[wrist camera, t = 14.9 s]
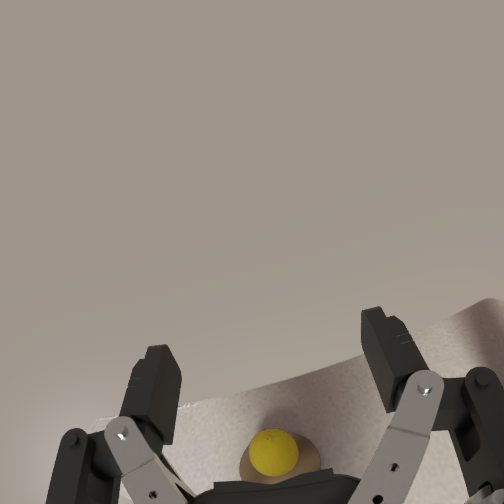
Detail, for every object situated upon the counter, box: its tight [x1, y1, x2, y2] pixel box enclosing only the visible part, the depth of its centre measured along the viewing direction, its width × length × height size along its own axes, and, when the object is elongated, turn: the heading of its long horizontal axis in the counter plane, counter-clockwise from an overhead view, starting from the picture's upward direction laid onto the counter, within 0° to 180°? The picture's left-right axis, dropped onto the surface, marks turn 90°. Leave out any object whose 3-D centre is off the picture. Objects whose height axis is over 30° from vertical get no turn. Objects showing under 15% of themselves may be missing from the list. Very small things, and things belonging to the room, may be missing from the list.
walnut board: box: [239, 432, 320, 484], centre depth 33 cm, size 10×10×1 cm
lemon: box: [249, 428, 299, 477], centre depth 31 cm, size 6×6×8 cm
